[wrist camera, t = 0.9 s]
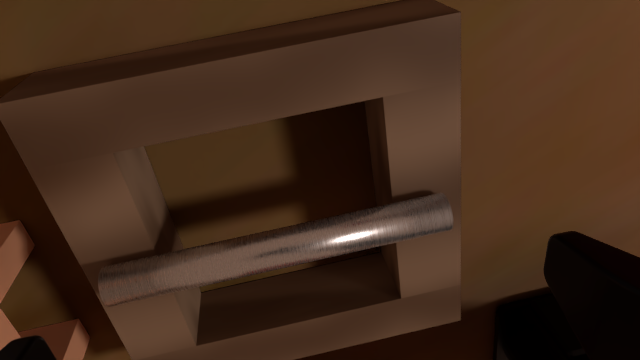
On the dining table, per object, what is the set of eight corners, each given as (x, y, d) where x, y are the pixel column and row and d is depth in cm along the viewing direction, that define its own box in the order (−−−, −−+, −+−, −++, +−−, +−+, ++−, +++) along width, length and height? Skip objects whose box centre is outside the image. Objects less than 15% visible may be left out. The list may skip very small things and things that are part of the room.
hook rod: (439, 216, 21) (453, 238, 19) (119, 287, 20) (110, 315, 18) (438, 185, 20) (453, 206, 18) (104, 258, 19) (94, 285, 18)
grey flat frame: (435, 274, 27) (460, 320, 24) (160, 337, 26) (150, 393, 23) (424, -5, 19) (460, 12, 16) (32, 72, 18) (-9, 105, 15)
